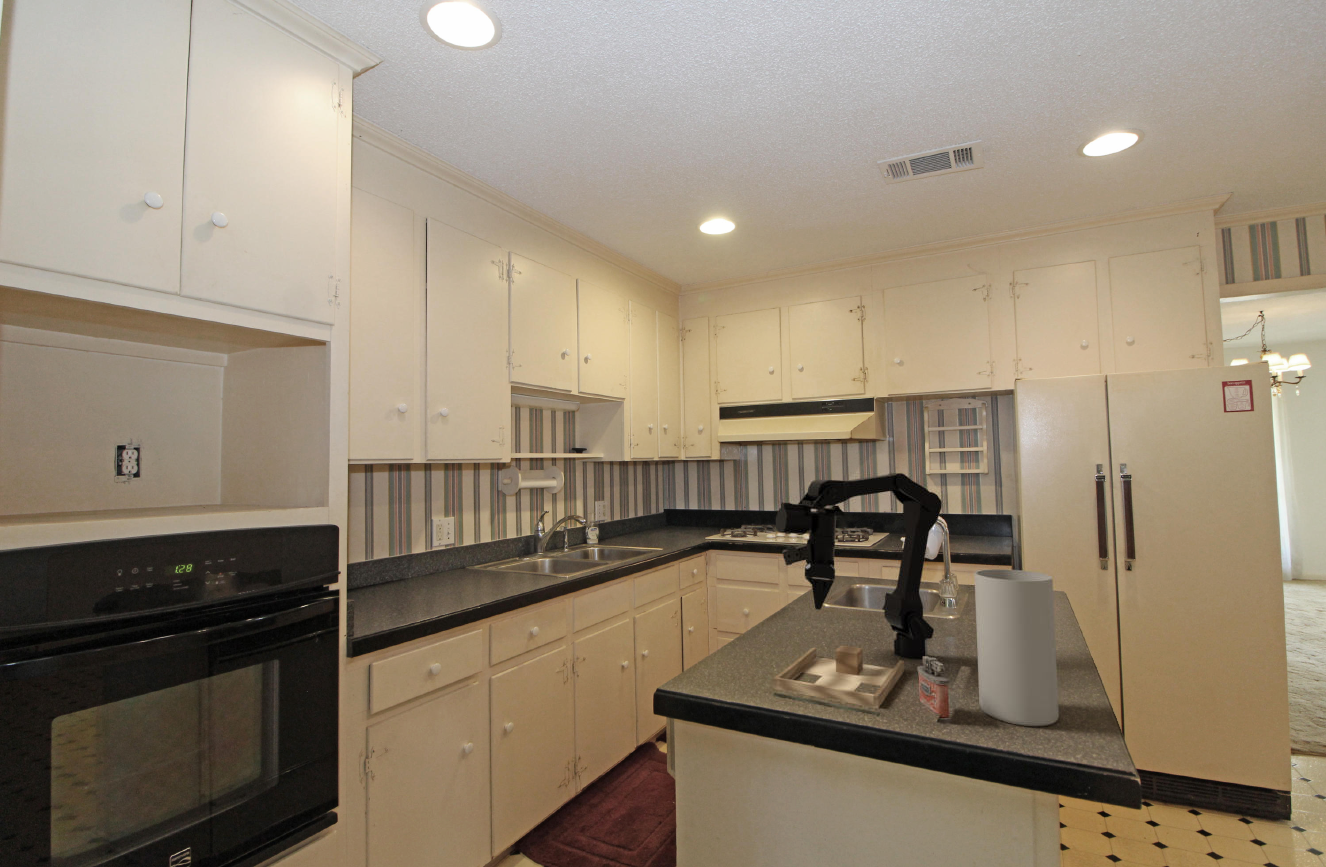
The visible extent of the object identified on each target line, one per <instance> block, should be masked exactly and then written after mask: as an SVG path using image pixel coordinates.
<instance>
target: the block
mask: <svg viewBox="0 0 1326 867" xmlns="http://www.w3.org/2000/svg"><path fill="white" fill-rule="evenodd" d="M863 653H864V652H863V647H857V646H855V647H854V646H848V645H840V646H839V647H838V648H837V649H836V650H835V660H836V672H839V673H845V674H851V675H857V676H858V675H859V673H860V672H861V671H862V670H863V664H864V663H863V662H864V659H863V658H864V657H863Z"/></svg>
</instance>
